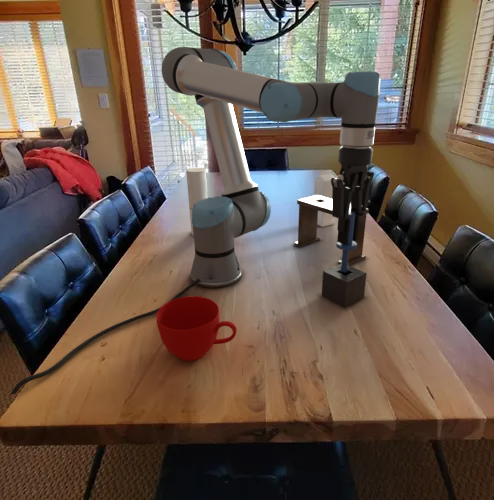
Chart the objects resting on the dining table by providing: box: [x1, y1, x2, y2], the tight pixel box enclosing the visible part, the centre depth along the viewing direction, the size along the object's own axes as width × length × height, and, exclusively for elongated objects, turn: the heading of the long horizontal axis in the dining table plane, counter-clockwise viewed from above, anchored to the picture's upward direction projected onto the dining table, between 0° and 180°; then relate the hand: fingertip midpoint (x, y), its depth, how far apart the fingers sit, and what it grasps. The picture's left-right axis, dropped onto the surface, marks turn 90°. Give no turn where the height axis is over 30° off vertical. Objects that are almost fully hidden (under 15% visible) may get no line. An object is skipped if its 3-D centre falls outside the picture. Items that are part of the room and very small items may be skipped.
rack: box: [293, 195, 370, 266], centre depth 126 cm, size 10×24×17 cm, turn 38°
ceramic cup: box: [155, 295, 238, 362], centre depth 79 cm, size 13×17×10 cm
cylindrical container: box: [185, 167, 209, 237], centre depth 142 cm, size 7×7×25 cm
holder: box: [321, 264, 368, 308], centre depth 100 cm, size 8×8×8 cm
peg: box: [335, 211, 357, 272], centre depth 95 cm, size 5×5×16 cm
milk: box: [313, 169, 336, 228], centre depth 151 cm, size 6×6×22 cm
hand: (346, 241), depth 95 cm, fingers closed on peg, 3 cm apart
